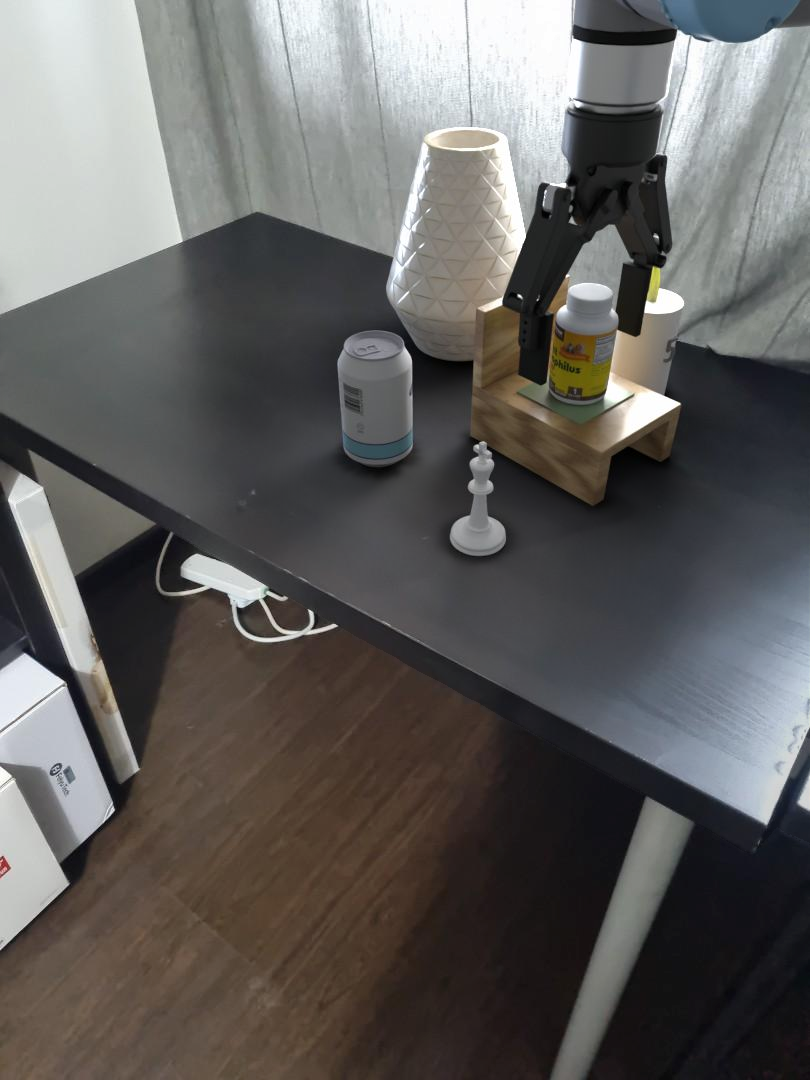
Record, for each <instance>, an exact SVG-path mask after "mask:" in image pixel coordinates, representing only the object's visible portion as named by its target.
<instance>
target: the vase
mask: <svg viewBox="0 0 810 1080" xmlns="http://www.w3.org/2000/svg"><path fill="white" fill-rule="evenodd" d="M510 155H511V154H510V149H509V144H508V139H507V137H506V135H504V134H503V133H501V132H498V131H496V130H493V129H489V128H482V127H481V128H480V127H465V126H464V127H449V128H448V127H447V128H443V129H437V130H434V131H432V132H428V133H427V134H426V135H424V137H423V138H422V142H421V146H420V150H419V154H418V157H417V161H416V165H415V170H414V173H413V178H412V182H411V185H410V190H409V194H408V198H407V201H406V206H405V209H404V212H403V213H404V214H403V218H402V222H401V226H400V229H399V233H398V237H397V242H396V246H395V250H394V254H393V257H392V262H391V265H390V270H389V275H388V277H387V281H386V287H385V289H386V291H385V292H386V297H387V299H388V302H389V303H390V305H391V307H392V308H393V310H394V312H395V313H396V315H397V317H398V318H399V320H400V322H401V323H402V325H403V327H404V328H405V330H406V331H407V333H408V335H409V336H410V338H411V340H412V342H413V343H414V345H415V346H416V347H417V349H419V350H420V351H421V352H422V353H423V354H425V355H427V356H430V357H432V358H434V359H437V360H442V361H450V362H470V361H471V362H472V361H474V345H475V321H476V308H478V307H481V306H483V305H486V304H488V303H490V302H493V301H495V300H497V299H500V298H502V297H503V296H504V293H505V291H506V288H507V285H508V283H509V280H510V277H511V274H512V272H513V269H514V266H515V264H516V261H517V258H518V255H519V253H520V250H521V247H522V244H523V242H524V239H525V236H526V231H525V227H524V222H523V216H522V211H521V206H520V202H519V197H518V192H517V191H518V190H517V186H516V180H515V176H514V171H513V164H512V160H511V156H510Z"/></svg>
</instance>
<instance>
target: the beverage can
mask: <svg viewBox="0 0 810 1080" xmlns="http://www.w3.org/2000/svg"><path fill="white" fill-rule="evenodd" d="M337 373H338V374H337V379H338V389H339V404H340V405H339V406H340V415H341V429H342V431H341V432H342V443H343V450H344V452H345V454H346V455H347V456H348V457H349V458H350V459H352V460H354V461H355V462H358V463H360V464H361V465H364V466H367V467H370V468H384V467H388V466H392V465H394V464H395V463H397V462H400V461H401V460H403V459H405V458H406V457H407V456H408V455H409V454H410V453H411V451H412V450H413V447H414V434H413V433H414V429H413V428H414V427H413V425H414V423H413V416H414V415H413V414H414V413H413V360H412V356H411V354H410V353H409V351H408V350H407V348H406V346H405V341H404V340H403V338H402V337H401V336H400V335H398V334H396V333H394V332H390V331H385V330H365V331H361V332H357V333H355V334H352V335H350V336H349V337H347V338H346V339H345V341H344V343H343V349H342V351H341V353H340V354H339V357H338V359H337Z"/></svg>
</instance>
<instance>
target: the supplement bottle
mask: <svg viewBox="0 0 810 1080" xmlns="http://www.w3.org/2000/svg"><path fill="white" fill-rule="evenodd" d="M613 300H614V292H613V290H612V289H611V288H609V287H608V286H606V285H603V284H599V283H593V282H582V283H577V284H573V285H572V286H570V287H569V288H568V295H567V300H566V303H567V304H566V305H564V306H563V307H561V308H560V309H559V311H558V313H557V316H556V322H555V332H554V341H553V349H552V358H551V367H550V375H549V390H550V392H551V394H552V395H553V396H554V397H555V398H557V399H558V400H560V401H562V402H565V403H568V404H573V405H588V404H593V403H595V402H597V401H599V400H601V399H602V398H603V397H604V396H605V394H606V392H607V387H608V381H609V375H610V369H611V363H612V357H613V352H614V346H615V340H616V334H617V328H618V315H617V313H616V312H615V311H616V310H614V309H613Z"/></svg>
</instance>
